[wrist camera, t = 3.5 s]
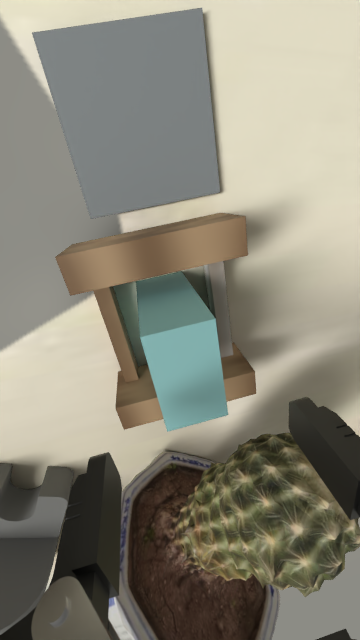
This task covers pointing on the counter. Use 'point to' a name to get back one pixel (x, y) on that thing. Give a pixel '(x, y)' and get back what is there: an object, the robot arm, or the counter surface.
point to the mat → (134, 109)
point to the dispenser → (149, 261)
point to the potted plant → (225, 542)
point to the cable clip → (29, 539)
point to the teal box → (181, 350)
